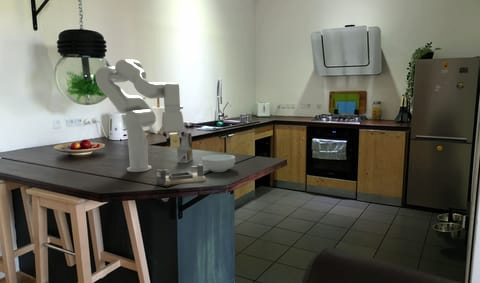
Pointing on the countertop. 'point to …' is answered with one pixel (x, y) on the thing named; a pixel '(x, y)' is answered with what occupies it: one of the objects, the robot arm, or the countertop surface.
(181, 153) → the coffee box
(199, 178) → the shaft bench
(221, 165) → the cereal bowl
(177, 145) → the coupler
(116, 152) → the countertop surface
